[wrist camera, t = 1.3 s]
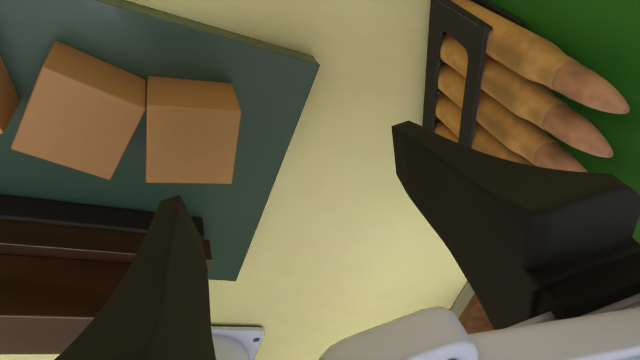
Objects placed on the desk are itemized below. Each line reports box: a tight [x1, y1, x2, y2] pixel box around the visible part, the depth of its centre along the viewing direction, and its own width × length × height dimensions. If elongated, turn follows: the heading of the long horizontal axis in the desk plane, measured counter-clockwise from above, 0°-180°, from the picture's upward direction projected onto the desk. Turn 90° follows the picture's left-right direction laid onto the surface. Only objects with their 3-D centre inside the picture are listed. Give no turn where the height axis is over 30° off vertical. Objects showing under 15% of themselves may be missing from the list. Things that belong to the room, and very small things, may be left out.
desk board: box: [0, 0, 320, 281], centre depth 23 cm, size 15×20×1 cm
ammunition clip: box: [423, 0, 630, 172], centre depth 22 cm, size 11×2×12 cm, turn 4°
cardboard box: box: [146, 76, 241, 184], centre depth 21 cm, size 4×4×3 cm
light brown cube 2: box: [11, 41, 146, 180], centre depth 19 cm, size 4×4×3 cm
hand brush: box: [0, 194, 212, 354], centre depth 22 cm, size 4×14×7 cm, turn 68°
